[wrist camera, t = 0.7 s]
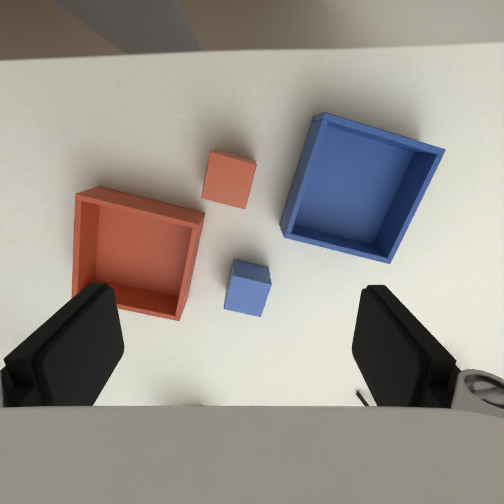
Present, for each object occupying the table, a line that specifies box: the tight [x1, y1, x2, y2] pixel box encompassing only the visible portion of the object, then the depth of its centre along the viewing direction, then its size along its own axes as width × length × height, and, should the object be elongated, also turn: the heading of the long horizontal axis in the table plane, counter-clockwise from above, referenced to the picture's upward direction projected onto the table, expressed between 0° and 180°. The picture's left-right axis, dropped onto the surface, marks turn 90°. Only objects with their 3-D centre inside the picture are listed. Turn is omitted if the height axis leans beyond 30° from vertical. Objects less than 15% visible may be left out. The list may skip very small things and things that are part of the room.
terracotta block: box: [201, 150, 257, 209], centre depth 30 cm, size 4×4×4 cm
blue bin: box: [279, 113, 445, 264], centre depth 30 cm, size 12×12×5 cm
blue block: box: [224, 259, 271, 317], centre depth 34 cm, size 4×4×4 cm
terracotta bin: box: [72, 186, 205, 321], centre depth 33 cm, size 12×12×5 cm
